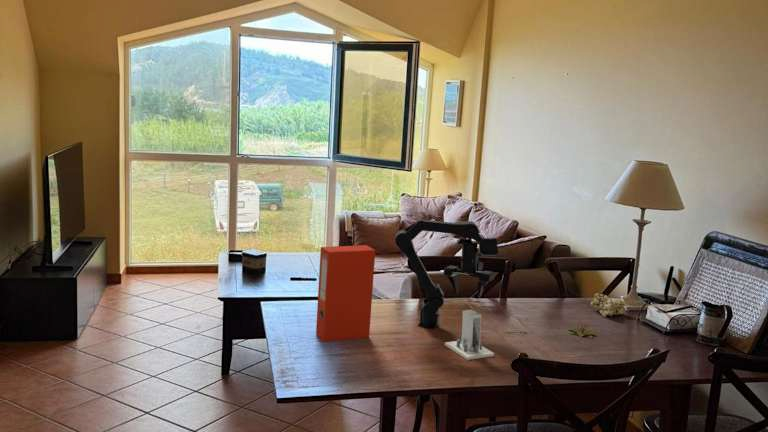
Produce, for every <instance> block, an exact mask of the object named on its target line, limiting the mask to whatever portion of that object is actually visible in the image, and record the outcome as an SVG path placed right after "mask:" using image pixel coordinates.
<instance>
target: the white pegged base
mask: <svg viewBox="0 0 768 432" xmlns="http://www.w3.org/2000/svg"><path fill="white" fill-rule="evenodd" d="M461 343H462V335H461V336H460V338H456V340H455V341H447V342H444V346H446V348H449V350H451V351H453V352H454V353H456V354H457V355H458V356H461V357H462V358H463V359H465V360H467V361H468V360H469V361H470V360H475V359H482V358H490V357H491V358H492V357H494V356H495V352H493V351H491V350H489V349H488V348H486V346H485V347H484V346H483V341H480V350H479V345H475V350H474V351H470V350H468V349H467V347H468V344H466V343H465V344H464V347H462V346H461Z"/></svg>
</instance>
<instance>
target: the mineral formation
mask: <svg viewBox="0 0 768 432" xmlns="http://www.w3.org/2000/svg"><path fill="white" fill-rule="evenodd" d="M592 299H593V300H592V301H591V302H590V307H595V308H596V309H597V310H598V312H599V313H600V314H601V315H602V317H603V318H604V317H605V318H606V317H607V316H609V317H612V316H613V315H616V316H618V315H621V314H624V312H628V311H629V310H628V308H627V307H625V305H626V301H625V300H623V299H620V298H616V299H614V300H613V299H612V298H610V297H609V296H608V295H606V294H603V293H602V294H599V293H595V294H594V298H592Z"/></svg>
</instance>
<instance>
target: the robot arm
mask: <svg viewBox="0 0 768 432" xmlns="http://www.w3.org/2000/svg"><path fill="white" fill-rule="evenodd" d="M423 231H425V232H433V233H440V234H441V233H442V234H443V233H444V234H451V235H455V236H459V237H460V238H459V239H458V240H457V241H456V243H457V244H458V245H461V258H460V260H459V262H461V265H460V266H461V267H459V266H457V265H456V266H455V265H451V264H450V265H449V266H446V267H444V269H443V275H444V276H446V278H447V279H448V280H449V281H450V284H451V285H452V288H453V290H454V292H455V294H456V295H457V294H459V278H460V275H461V276H466V277H473V278H478V279H479V281H477V297H478V299H479V298H481V296H482V294H483V292H484V289H485V287H486V285H487V284H488V283H489V282H491V281H493V280H495V277H496V276H495V272H494V271H491V270H483V267H484V262H482V261H480V260H479V256H478V254H479V253H480V254H481V256H483V257H484V256H485V257H487V256H490V257H497V256H498V254H499V247H498V238H497V237H483V236H482V235H481V234H480V233H479V227H478V225H477V224H476V223H475V221H472V220H468V221H467V220H463V221H457V222H451V221H450V222H449V221H440V220H439V221H438V220H431V219H423V218H418V219H416V221H414V223H412V224H411V225H409V226H407V227H406V228H405V229H401V230H399V231H397V232H396V235H395V240H394V243H395V244H396V246H397V247H398V249H399V250H400V251H401V252H402V253H403V254H404V255H405V256H406V258H407V260H408V261H409V263H410V265H411V266H412V268H413V270H414V273H415V275H416V276H417V278H418V279H419V281H420V283H421V285H422V287H423V289H424V292H425V296H426V297H425V298H424V299H423V300H422V301H421V303H422V307H421V309H420V316H419V323H418V324H417V326H419V327H422V328H423V327H424V328H428V329H433V330H434V329H435V328H436V327H438V326H439V325H440V316H441V315H440V313H439V312H440V311H439V309H440V308H441V307H443V305H444V304H445V300H444V297H445V294H444V290H442V288H441V287H440V286H441V285H440V283H437V284H435V283H434V282H433V280H432V279H431V277H430V275H429V272H428V271H427V270H426V268H425V266H424V264H423V262H422V260H421V259H420V257H419V255H418V253H417V251H416V248H415V244H414V242H413V240H414V239H416V237H418V235H420V233H422V232H423ZM479 271H480V272H479Z"/></svg>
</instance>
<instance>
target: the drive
mask: <svg viewBox="0 0 768 432" xmlns="http://www.w3.org/2000/svg"><path fill="white" fill-rule="evenodd" d="M461 322H462V324H461V336H462V343H461V346H462V347H464V344H465V343H466V344H468V347H467V349H468V350H470V351H474V350H475V345H479V350H480V342H481V334H482V333H481V331H482V328H481V327H482V313H480V312H477V311H474V310H472V309H467V310H462V321H461Z"/></svg>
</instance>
